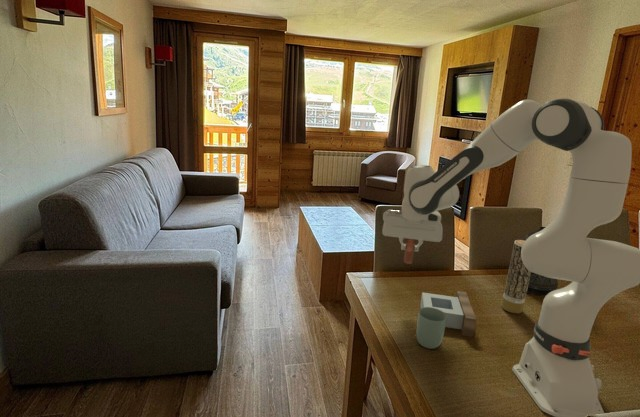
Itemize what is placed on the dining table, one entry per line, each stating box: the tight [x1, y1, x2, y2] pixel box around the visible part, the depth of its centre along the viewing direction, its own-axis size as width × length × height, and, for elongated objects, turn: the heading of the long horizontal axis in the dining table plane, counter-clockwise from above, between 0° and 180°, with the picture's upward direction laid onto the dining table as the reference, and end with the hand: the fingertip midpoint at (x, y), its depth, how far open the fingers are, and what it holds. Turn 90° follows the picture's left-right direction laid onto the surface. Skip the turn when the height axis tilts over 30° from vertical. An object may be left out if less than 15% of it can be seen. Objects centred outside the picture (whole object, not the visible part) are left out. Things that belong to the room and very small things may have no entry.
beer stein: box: [525, 226, 559, 296], centre depth 148 cm, size 16×19×25 cm
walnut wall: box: [455, 290, 477, 337], centre depth 124 cm, size 18×3×6 cm, turn 169°
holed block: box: [419, 292, 464, 330], centre depth 125 cm, size 12×12×5 cm
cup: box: [415, 307, 447, 350], centre depth 109 cm, size 8×8×10 cm
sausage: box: [403, 238, 416, 264], centre depth 132 cm, size 3×3×9 cm
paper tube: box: [501, 239, 531, 314], centre depth 130 cm, size 7×7×25 cm
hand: (409, 250), depth 132 cm, fingers closed on sausage, 3 cm apart
